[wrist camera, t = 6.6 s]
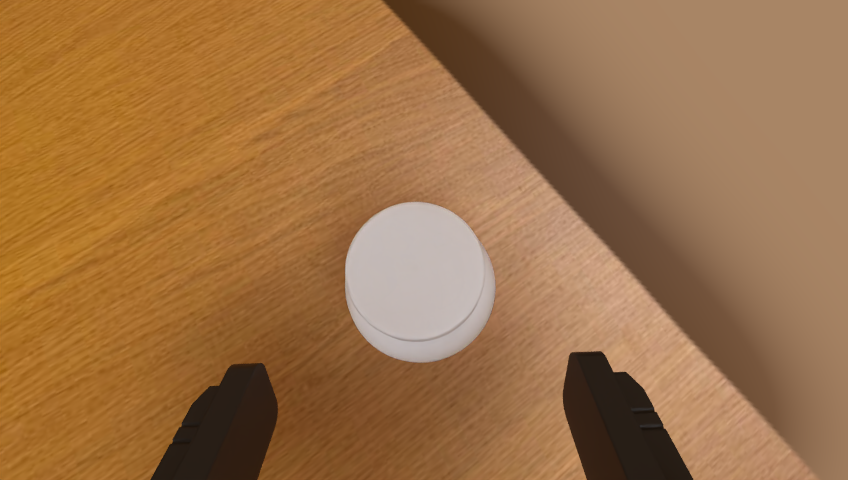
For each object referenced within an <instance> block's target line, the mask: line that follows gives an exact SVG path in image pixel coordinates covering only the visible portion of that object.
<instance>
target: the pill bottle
mask: <svg viewBox="0 0 848 480" xmlns="http://www.w3.org/2000/svg"><path fill="white" fill-rule="evenodd" d="M495 292H496V284H495V275H494V270H493V266H492V263H491V260H490V258H489V256H488V254H487V252H486V250H485V248H484V246H483V245H482V243H481V242H480V240H479V239H478V238H477V236H476V235H475V233H474V232H473V230H472V229H471V228H470V226H469V225H468V224H467V223H466V222H465V221H464V220H463V219H461V218H460V217H459V216H458V215H456V214H455V213H453V212H452V211H450V210H448V209H446V208H444V207H441V206H439V205H435V204H431V203H426V202H406V203H400V204H396V205H393V206H391V207H388V208H386V209H384V210H382V211H380V212H378V213H377V214H375V215H374V216H372V217H371V218H370V219H369V220H368V221H367V222H366V223H365V224H364V225H363V226H362V227H361V228H360V230H359V231H358V232H357V234H356V235H355V237H354V239H353V241H352V243H351V245H350V247H349V250H348V254H347V258H346V265H345V295H346V301H347V305H348V308H349V311H350V314H351V317H352V319H353V321H354V323H355V325H356V327H357V328H358V330H359V331H360V333H361V334H362V335H363V337H364V338H365V339H366V340H367V341H368V342H369V343H370V344H371V345H372V346H374V347H375V348H376V349H378V350H379V351H381V352H383V353H384V354H386V355H388V356H391V357H393V358H396V359H399V360H403V361H407V362H416V363H425V362H434V361H439V360H441V359H445V358H447V357H450V356H452V355H454V354H456V353H458V352H459V351H461V350H462V349H464V348H465V347H467V346H468V345H469V344H470V343H471V342H472V341H474V340H475V339H476V337H477V336H478V335H479V334H480V333H481V331H482V330H483V328H484V327H485V325H486V323H487V321H488V319H489V317H490V314H491V312H492V309H493V305H494V300H495Z"/></svg>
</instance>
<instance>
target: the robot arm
mask: <svg viewBox="0 0 848 480" xmlns="http://www.w3.org/2000/svg"><path fill="white" fill-rule="evenodd" d="M563 404H564V410H565V415H566V418H567V421H568V424H569V427H570V430H571V433H572V436H573V439H574V442H575V445H576V448H577V451H578V454H579V457H580V460H581V463H582V466H583V469H584V472H585V475H586V478H587V480H693V478H692V476H691V474H690V473H689V471H688V469H687V467H686V465H685V463H684V462H683V460H682V458H681V456H680V454H679V452H678V451H677V449H676V447H675V445H674V443H673V442H672V440H671V438H670V436H669V434H668V432H667V431H666V429H664V427H663V423H662V421H661V420H660V418H659V416H658V414H657V412H655V411H654V407H653V405H652V403H651V401H650V400H649V398H648V396H647V394H646V392H645V390H644V389H643V388H642V387H641V386H640V385H639V384H638V383H637V382H636V381H635V380H634V379H633V378H632V377H631V376H630V375H629V374H627V373H626V372H613V370H612V368H611V366H610V364H609V362H608V360H607V358H606V356H605V355H604V354H603V353H602V352H601V351H596V352H572V353H571V354H570V355H569V360H568V366H567V371H566V377H565V383H564V389H563ZM277 414H278V405H277V400H276V397H275V394H274V391H273V388H272V385H271V382H270V380H269V377H268V374H267V371H266V368H265V366H264V365H263V364H262V363H254V364H233V365H231V366H230V367H229V368H228V370H227V371H226V373H225V375H224V377H223V379H222V381H221V383H220V385H219V386H210V387H209V388H208V389H207V390H206V391H205V392H204V393H203V394H202V395H201V396H200V397H199V398H198V399H197V400H196V401H195V402H194V403H193V404H192V405H191V407H190V409H189V411H188V413H187V415H186V416H185V418H184V420H183V422H182V426H181V427H179V429H178V431H177V433H176V434H175V436H174V438H173V443H172V444H170V445H169V447H168V449H167V451H166V453H165V454H164V456H163V458H162V460H161V462H160V463H159V465H158V467H157V469H156V471H155V472H154V474H153V476H152V478H151V480H257V479H258V476H259V473H260V470H261V467H262V464H263V461H264V458H265V455H266V452H267V449H268V446H269V443H270V440H271V437H272V434H273V431H274V428H275V425H276V421H277Z"/></svg>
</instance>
